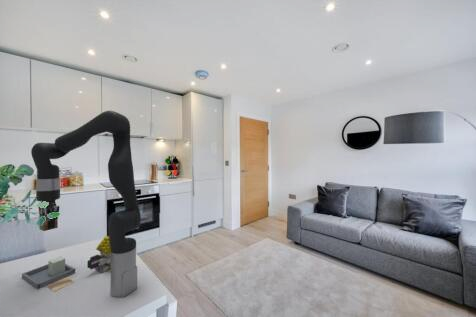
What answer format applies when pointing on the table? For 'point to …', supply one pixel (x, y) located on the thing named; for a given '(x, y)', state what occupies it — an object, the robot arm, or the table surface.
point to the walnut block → (45, 224)
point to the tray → (45, 276)
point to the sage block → (56, 266)
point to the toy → (101, 257)
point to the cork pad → (60, 284)
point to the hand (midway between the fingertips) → (48, 227)
